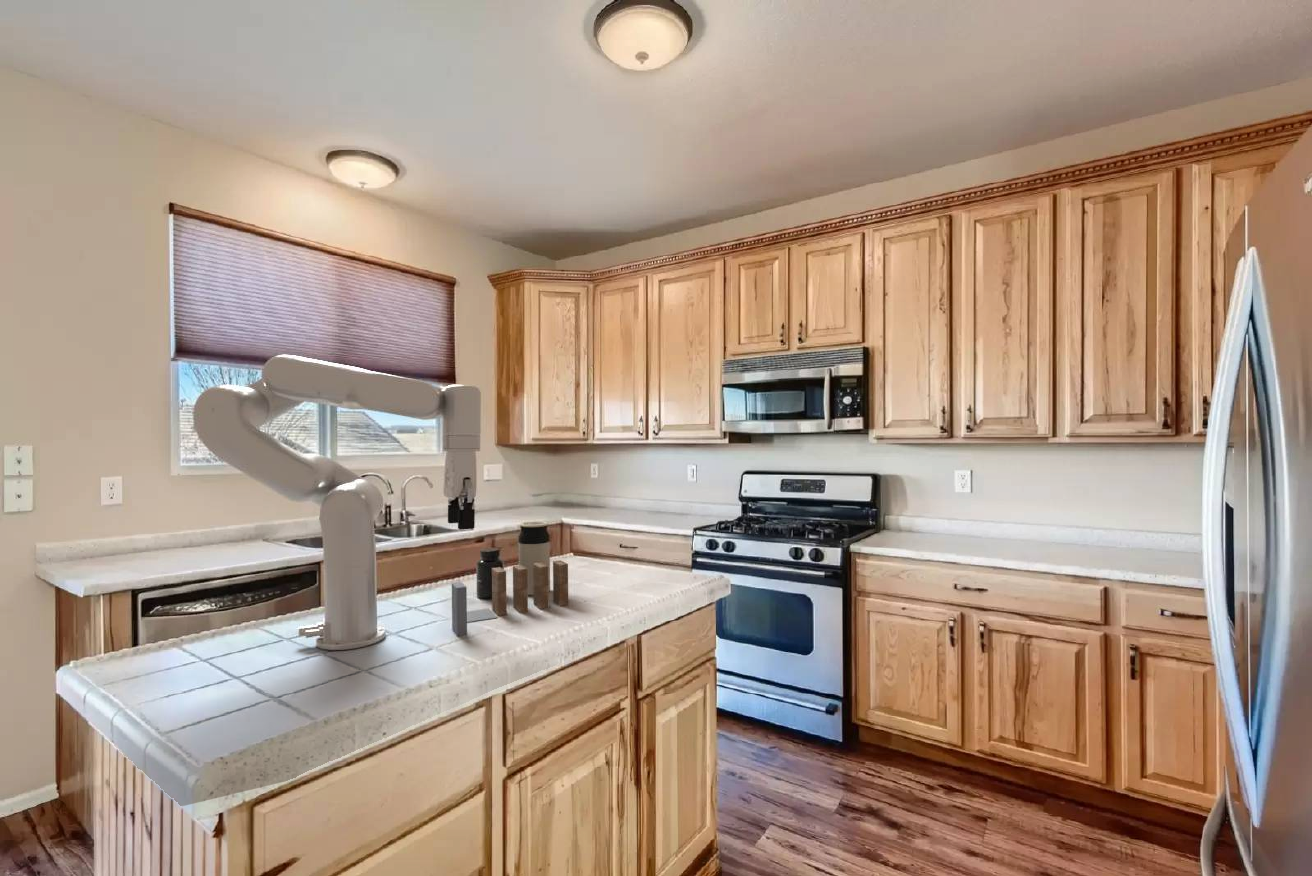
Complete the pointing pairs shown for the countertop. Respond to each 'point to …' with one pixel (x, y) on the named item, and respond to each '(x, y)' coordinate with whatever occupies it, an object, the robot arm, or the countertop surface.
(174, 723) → the countertop surface
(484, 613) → the pad
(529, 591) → the travel mug
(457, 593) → the domino
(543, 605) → the domino
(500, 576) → the domino
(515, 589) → the domino
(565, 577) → the domino
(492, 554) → the supplement bottle
